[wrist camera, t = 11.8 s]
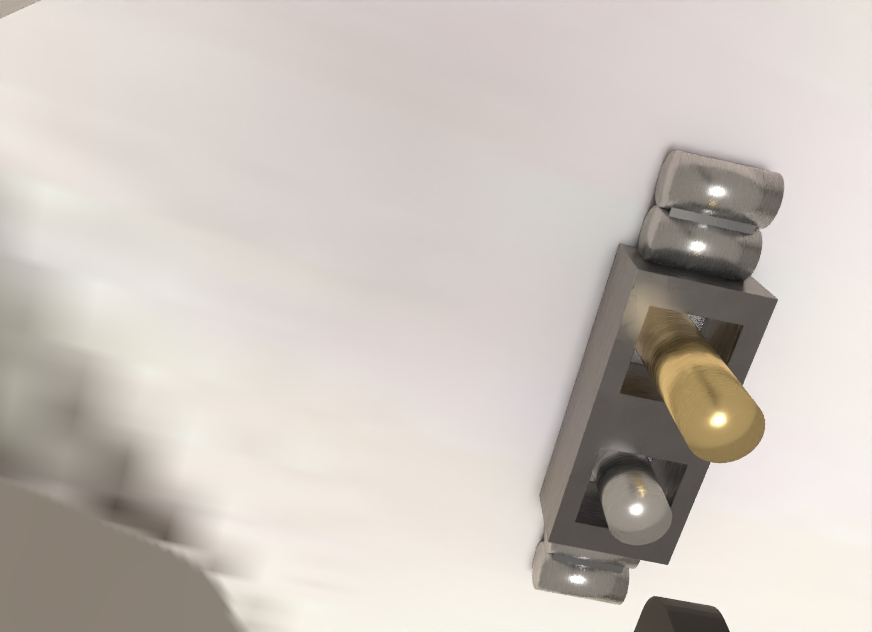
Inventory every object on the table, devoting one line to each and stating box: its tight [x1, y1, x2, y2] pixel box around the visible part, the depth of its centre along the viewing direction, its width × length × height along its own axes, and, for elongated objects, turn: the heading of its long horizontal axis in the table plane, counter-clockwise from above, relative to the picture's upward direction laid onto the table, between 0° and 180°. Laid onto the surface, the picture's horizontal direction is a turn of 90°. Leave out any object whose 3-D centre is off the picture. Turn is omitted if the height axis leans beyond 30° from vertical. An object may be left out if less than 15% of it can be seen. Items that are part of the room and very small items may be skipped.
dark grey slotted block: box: [532, 150, 784, 605], centre depth 36 cm, size 25×6×6 cm, turn 168°
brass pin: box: [635, 306, 765, 463], centre depth 33 cm, size 3×3×10 cm
